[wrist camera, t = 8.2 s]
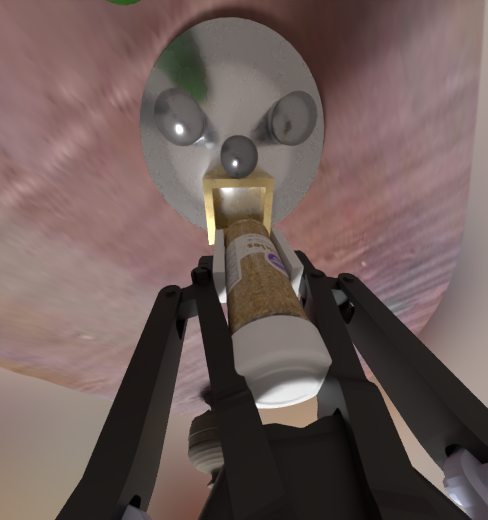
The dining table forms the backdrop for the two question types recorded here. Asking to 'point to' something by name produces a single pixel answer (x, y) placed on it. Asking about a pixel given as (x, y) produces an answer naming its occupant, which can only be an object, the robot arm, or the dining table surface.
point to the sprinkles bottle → (269, 322)
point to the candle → (123, 2)
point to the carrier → (231, 125)
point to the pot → (206, 443)
